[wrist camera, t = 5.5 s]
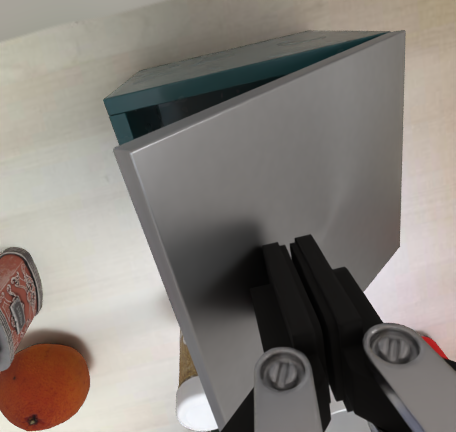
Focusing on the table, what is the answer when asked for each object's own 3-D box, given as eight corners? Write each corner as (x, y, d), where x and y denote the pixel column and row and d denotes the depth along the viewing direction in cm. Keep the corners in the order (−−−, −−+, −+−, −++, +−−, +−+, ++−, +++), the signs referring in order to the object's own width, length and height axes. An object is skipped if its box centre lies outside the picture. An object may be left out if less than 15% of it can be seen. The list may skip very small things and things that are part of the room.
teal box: (179, 201, 33) (172, 290, 22) (139, 70, 28) (102, 99, 16) (321, 168, 33) (389, 241, 22) (309, 30, 27) (391, 30, 16)
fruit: (81, 320, 39) (56, 386, 32) (105, 374, 43) (88, 442, 36) (0, 334, 39) (-43, 403, 32) (32, 387, 43) (1, 458, 36)
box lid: (220, 438, 13) (236, 451, 13) (110, 148, 8) (128, 151, 7) (386, 243, 22) (400, 247, 21) (387, 32, 16) (406, 29, 15)
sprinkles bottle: (202, 273, 37) (206, 387, 25) (231, 296, 39) (248, 413, 27) (171, 298, 38) (162, 418, 27) (201, 319, 40) (205, 441, 28)
